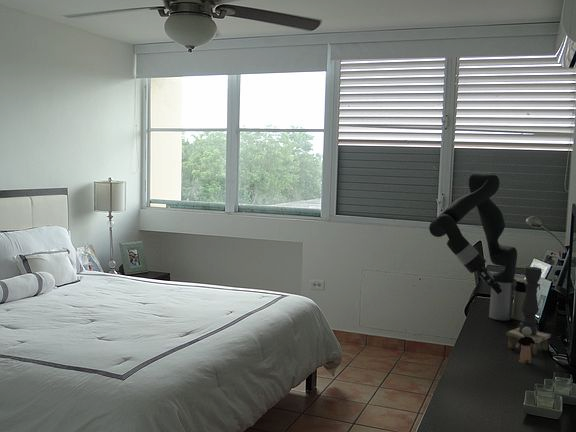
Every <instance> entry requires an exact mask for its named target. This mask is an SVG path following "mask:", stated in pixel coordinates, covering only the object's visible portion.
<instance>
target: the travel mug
mask: <svg viewBox="0 0 576 432" xmlns="http://www.w3.org/2000/svg"><path fill="white" fill-rule="evenodd" d="M515 281H516V284H515V285H514V287H513V298H512V310H511V319H512V320H515V321H519V322H522V321H521V319H522V318H523V317H524V315H523V312H522V310H521V306H522V304H523V301H524V298H525V295H526V285H525V283H526V282H527V280H526V278H516V279H515Z"/></svg>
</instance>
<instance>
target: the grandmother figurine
mask: <svg viewBox="0 0 576 432" xmlns="http://www.w3.org/2000/svg"><path fill="white" fill-rule="evenodd" d="M522 333H523V335H524V336H525V337H523V338H520V339H519V338H518V339H519V340H518V341H517V343H516V345H515V348H517V349H518V348H519V347H520V353H519V359H518V362H519V363H520V364H526V363H527V364H532V346H531V345H533V348H536V345H535V342H534V340H533V339H532V338H531V337H529V336H530V334H532V331H531V329H530V327H524V328H523V329H522ZM520 345H521V346H520Z"/></svg>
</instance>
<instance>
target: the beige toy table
mask: <svg viewBox="0 0 576 432" xmlns="http://www.w3.org/2000/svg"><path fill="white" fill-rule="evenodd" d="M505 333H506V334H505V335H506V337H507V336H508V341H507V349H511V350H512V349H514V338H515V339H518V340H519V339H520V338H523V337H525V336H524V335H523V334H522V333H520V332H519V327H517V328H514V329H511V330H509V331H506V332H505ZM551 336H552V334H551V333H547V332H542V331H540V330H539V331H538V330H537V334H536V335H530V336H529V337H531V338H532V339H533V340H534V342H535V345H536V348H533V345H532V344H531V345H532V346H531V355H532V356H533V355H534V356H537V355H538V346H539V343H541V350H543V351H547V350H548V342H549V339H550V338H552V337H551Z"/></svg>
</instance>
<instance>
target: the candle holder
mask: <svg viewBox="0 0 576 432" xmlns="http://www.w3.org/2000/svg"><path fill="white" fill-rule="evenodd" d="M524 277H525V278H524V279H526V280H527V282H526V283H525V285H526V295H525V298H524V301H523V304H522V306H521V310H522V312H523V315H524V317H523V318H522V319H521V321H520V322H519V327H518V328H519V332H520V333H522V329H523V328H524V327H530V329H531V331H532V334H530V335H536V334H537V331H538V324H537V322H538V321H537V319H536V318H535V317H536V315H538V312H539V304H538V297H537V295H538V294H537V293H538V288H539V287H540V284H539V281H540V280H541V278H542V268H540V267H536V266H535V267H534V266H525V269H524ZM522 334H523V333H522Z"/></svg>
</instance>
